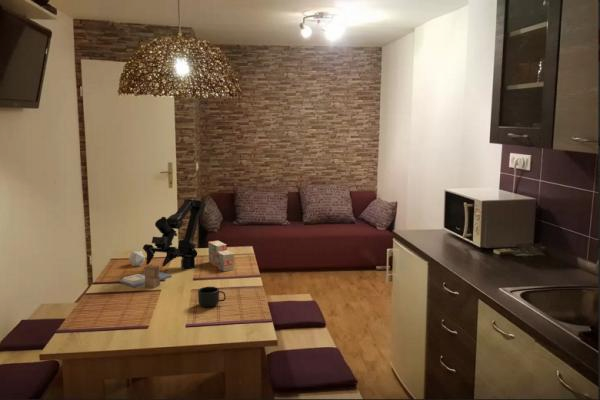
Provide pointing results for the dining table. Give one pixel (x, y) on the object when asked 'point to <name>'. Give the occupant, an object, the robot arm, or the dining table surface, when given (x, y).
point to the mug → (209, 296)
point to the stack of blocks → (220, 256)
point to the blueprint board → (140, 279)
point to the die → (137, 258)
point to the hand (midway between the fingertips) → (155, 265)
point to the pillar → (152, 276)
